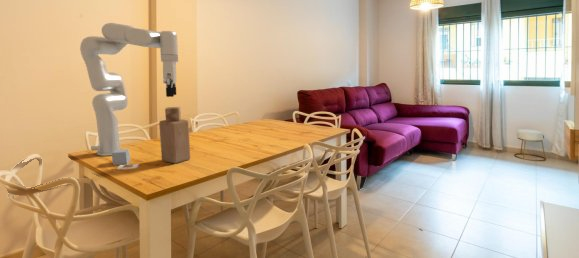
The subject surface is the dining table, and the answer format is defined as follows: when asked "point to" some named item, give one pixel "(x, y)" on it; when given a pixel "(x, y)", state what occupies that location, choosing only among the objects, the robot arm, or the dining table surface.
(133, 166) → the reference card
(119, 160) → the slate-grey cube
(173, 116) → the walnut cube
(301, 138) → the dining table surface
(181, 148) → the wooden block
